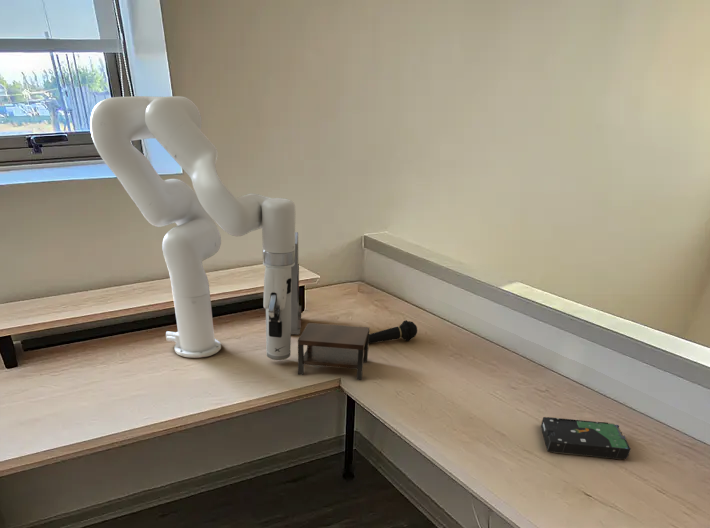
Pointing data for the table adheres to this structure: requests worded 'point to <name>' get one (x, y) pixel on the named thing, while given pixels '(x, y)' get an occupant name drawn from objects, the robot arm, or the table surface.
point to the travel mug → (282, 346)
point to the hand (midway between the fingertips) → (279, 330)
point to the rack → (333, 347)
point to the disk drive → (584, 438)
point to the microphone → (395, 333)
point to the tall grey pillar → (295, 294)
